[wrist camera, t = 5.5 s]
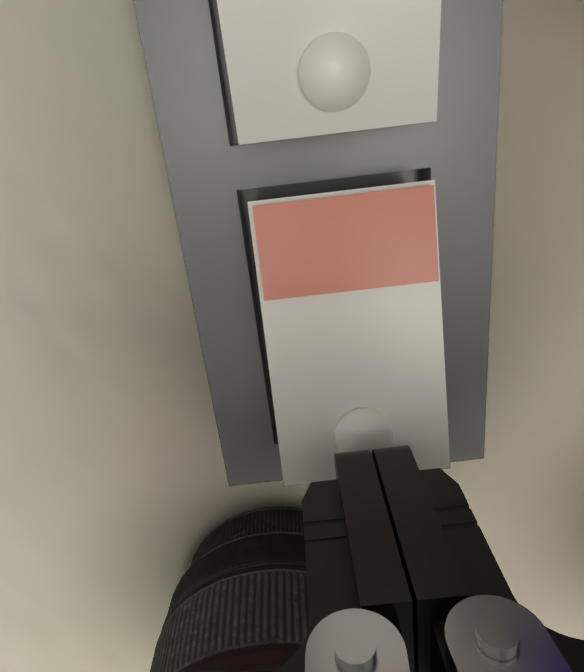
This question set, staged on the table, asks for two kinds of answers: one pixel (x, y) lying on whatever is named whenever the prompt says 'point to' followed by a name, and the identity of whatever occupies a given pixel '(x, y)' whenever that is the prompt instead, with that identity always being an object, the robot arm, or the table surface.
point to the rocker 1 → (329, 65)
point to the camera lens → (240, 598)
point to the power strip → (312, 178)
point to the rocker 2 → (353, 325)
